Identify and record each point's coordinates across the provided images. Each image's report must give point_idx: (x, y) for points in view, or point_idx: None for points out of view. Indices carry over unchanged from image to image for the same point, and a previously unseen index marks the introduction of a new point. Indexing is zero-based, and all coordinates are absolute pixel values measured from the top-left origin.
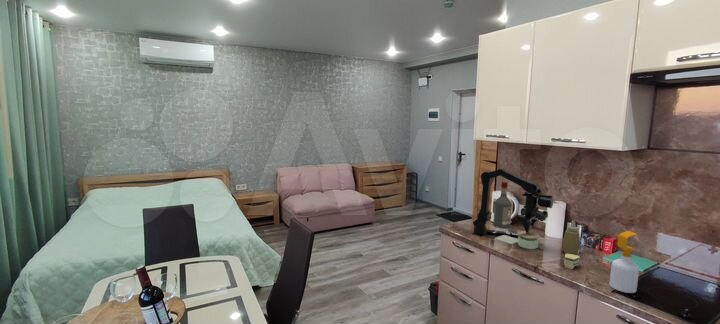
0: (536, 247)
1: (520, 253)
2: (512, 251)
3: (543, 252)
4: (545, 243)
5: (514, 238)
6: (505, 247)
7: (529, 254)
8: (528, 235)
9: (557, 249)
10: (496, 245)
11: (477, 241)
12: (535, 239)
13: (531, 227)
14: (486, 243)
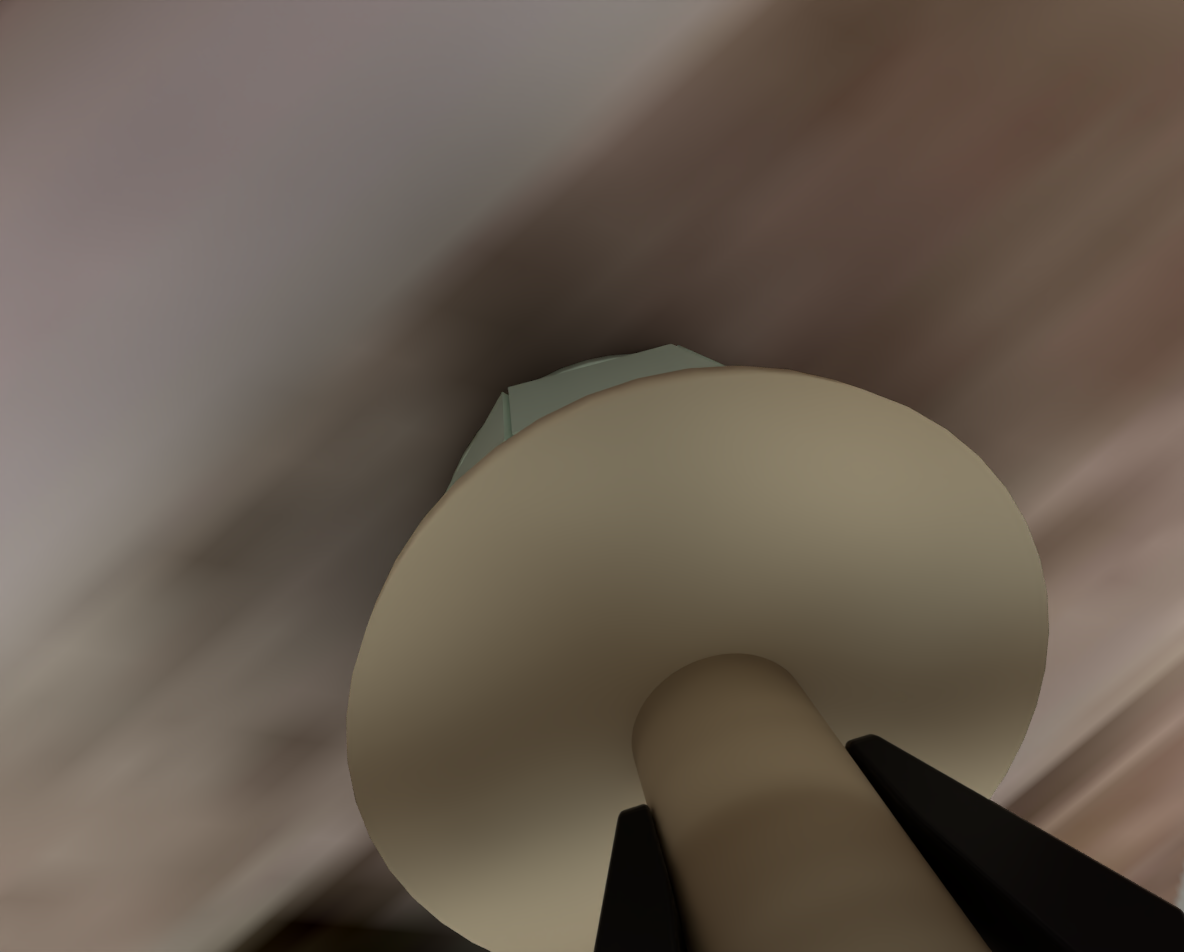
0: (575, 369)
1: (1101, 278)
2: (1127, 411)
3: (596, 127)
4: (39, 571)
5: None
6: (1051, 595)
7: (1000, 162)
8: (866, 613)
9: (7, 141)
10: (1090, 697)
11: (1165, 866)
12: None
13: (877, 950)
14: (1136, 788)
